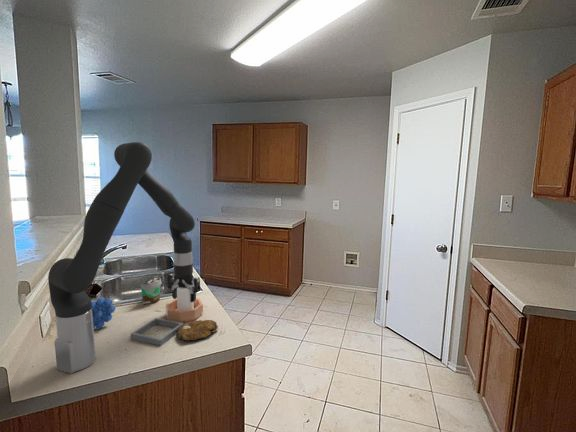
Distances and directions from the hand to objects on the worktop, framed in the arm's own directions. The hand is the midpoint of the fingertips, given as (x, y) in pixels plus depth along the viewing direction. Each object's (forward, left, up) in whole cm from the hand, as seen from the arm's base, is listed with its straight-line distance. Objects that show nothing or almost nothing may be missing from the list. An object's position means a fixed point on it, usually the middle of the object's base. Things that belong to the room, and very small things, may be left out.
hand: (184, 299), depth 131 cm
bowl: (0, 0, -7) cm, 7 cm away
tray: (-16, 0, -7) cm, 17 cm away
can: (0, -1, -6) cm, 6 cm away
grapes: (-20, +24, -7) cm, 32 cm away
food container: (+7, +21, -7) cm, 23 cm away
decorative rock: (-11, -14, -7) cm, 19 cm away
